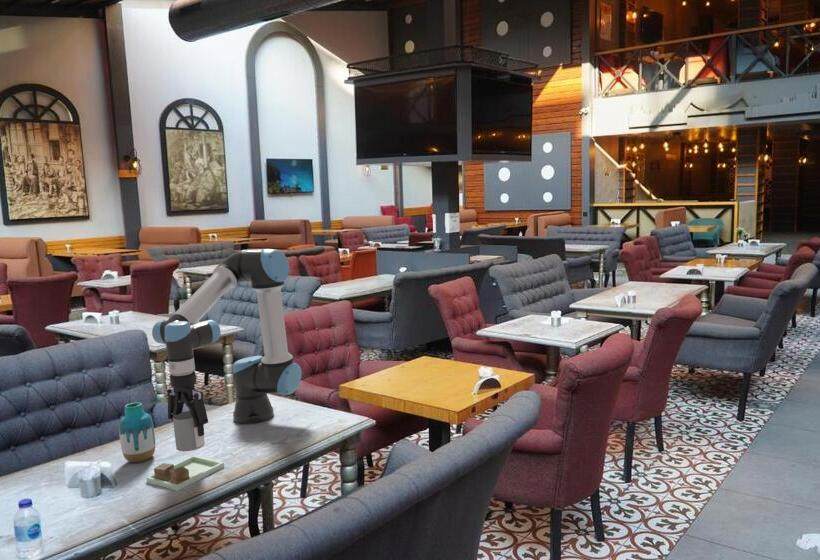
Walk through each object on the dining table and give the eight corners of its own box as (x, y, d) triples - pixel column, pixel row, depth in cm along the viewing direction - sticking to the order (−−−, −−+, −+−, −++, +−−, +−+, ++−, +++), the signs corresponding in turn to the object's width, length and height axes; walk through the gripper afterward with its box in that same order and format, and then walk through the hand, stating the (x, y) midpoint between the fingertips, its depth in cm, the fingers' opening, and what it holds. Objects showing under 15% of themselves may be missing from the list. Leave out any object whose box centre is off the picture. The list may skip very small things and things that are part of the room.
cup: (195, 451, 202) (192, 419, 201) (171, 451, 204) (167, 419, 203) (209, 441, 210) (206, 410, 209) (185, 440, 212) (182, 410, 211)
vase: (144, 467, 215) (137, 410, 212) (116, 466, 217) (108, 410, 214) (164, 454, 225) (157, 399, 222) (136, 453, 227) (129, 399, 225)
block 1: (164, 475, 206) (163, 463, 206) (175, 476, 205) (173, 464, 204) (155, 480, 203) (153, 468, 202) (165, 482, 201) (164, 469, 200)
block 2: (184, 478, 203) (182, 466, 202) (189, 482, 200) (188, 469, 199) (171, 483, 200) (169, 470, 199) (177, 487, 197) (175, 474, 197)
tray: (194, 461, 217) (193, 455, 217) (224, 468, 210) (223, 462, 210) (147, 484, 202) (146, 477, 202) (177, 492, 195) (177, 486, 195)
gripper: (149, 372, 206) (158, 442, 210) (196, 379, 195) (204, 453, 198) (169, 366, 213) (177, 434, 216) (215, 372, 202) (223, 444, 205)
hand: (190, 443), depth 207 cm, fingers closed on cup, 8 cm apart
